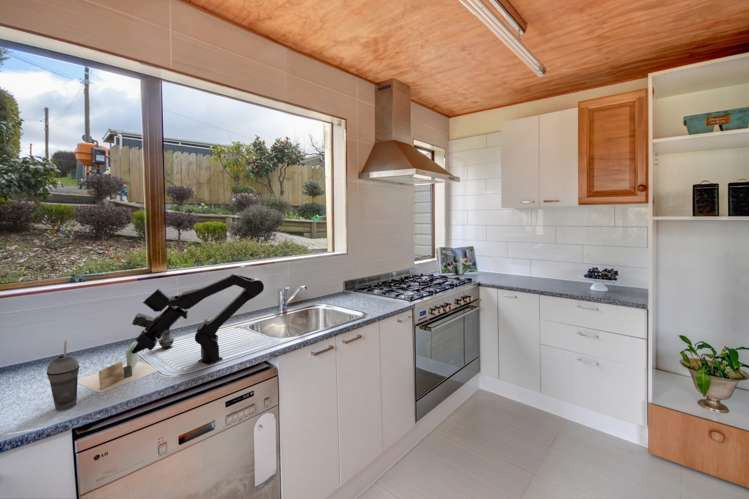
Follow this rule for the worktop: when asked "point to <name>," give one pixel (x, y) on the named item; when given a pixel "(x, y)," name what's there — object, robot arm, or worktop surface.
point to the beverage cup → (63, 380)
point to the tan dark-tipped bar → (113, 374)
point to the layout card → (137, 372)
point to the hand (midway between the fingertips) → (132, 352)
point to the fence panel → (131, 356)
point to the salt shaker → (166, 341)
